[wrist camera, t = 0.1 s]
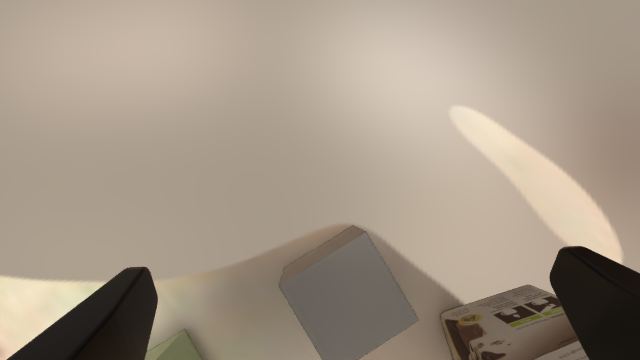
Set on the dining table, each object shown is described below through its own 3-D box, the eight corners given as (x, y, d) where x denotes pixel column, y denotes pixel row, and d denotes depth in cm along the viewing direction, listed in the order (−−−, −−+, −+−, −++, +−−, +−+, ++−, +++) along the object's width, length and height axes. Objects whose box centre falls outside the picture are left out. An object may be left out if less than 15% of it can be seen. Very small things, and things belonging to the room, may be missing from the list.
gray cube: (394, 294, 23) (419, 320, 18) (326, 337, 23) (332, 376, 18) (353, 225, 23) (366, 232, 18) (284, 267, 23) (278, 286, 18)
